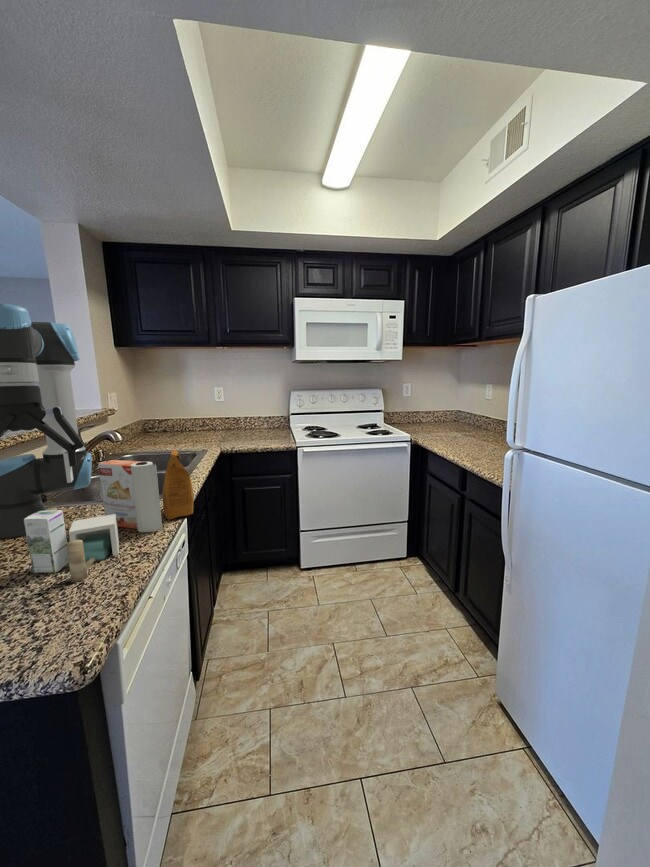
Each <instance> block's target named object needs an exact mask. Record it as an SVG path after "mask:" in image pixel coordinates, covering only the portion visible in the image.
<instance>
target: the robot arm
mask: <svg viewBox="0 0 650 867" xmlns="http://www.w3.org/2000/svg"><path fill="white" fill-rule="evenodd" d="M79 360H80V354H79V350H78V346H77V342H76V338H75V336H74V333H73V331H72V328H71V327H70V326H69V325H68V324H65V323H60V322H59V323H57V322H51V321H50V322H49V321H48V322H45V321H42V322H41V321H32V320H31V318H30V313H29V311H28V309H27V308H25V307H22V306H20V305H15V304H8V303H0V439H1V438H2V437H3V436H4V434H5V433H7V432H8V431H11V432H18V431H32V430H34V429H37V430H38V431H39V432H42V433H43V434H44V435H45V438H46V445H47V446H46V448H45V449H44V451H42V457H38V458H37V456H36V455H35V454H33V453H30V454H29V453H28V454H27V453H26V454H21V455H15V456H11V457H7V458H6V457H5V458H3V459H0V539H2V540H3V539H11V538H17V537H23V536H27V535H26V530H25V524H24V519H25V518H27V517H28V516H30V515H32V514H34V513H36V512H38V511H49V509H47V507H46V505H45V504H44V502H43V501H42V495H43V494H44V495H45V494H52V493H58V492H66V491H72V490H73V491H75V490H77V489H84V488H87V487H88V486H90V484H91V482H92V481H91V480H92V473H93V471H92V470H93V467H92V466H93V463H92V462H93V457H92V456H93V455H92V453H91V452H87V449H86V447H85V442H84V440H83V439H82V438H81V437H80V435H79V430H78V422H77V415H76V407H75V399H74V391H73V390H74V389H73V385H72V384H73V383H72V377H71V371H72V370H73V369H74V368H75V367H76V364H75V362H78V361H79ZM37 383H38V385H37Z"/></svg>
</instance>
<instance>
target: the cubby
mask: <svg viewBox="0 0 650 867" xmlns="http://www.w3.org/2000/svg"><path fill="white" fill-rule="evenodd" d="M118 529H119V528H118V526H117V520H116V514H112V515H106V516H105V515H102V516H95V517H90V518H89V517H88V518H83V519H77V520H73V521H72V523H71V526H70V528H69V530H68V535H69V542H71V541H74V540H82V541H84V540H85V539H86V538H87V537H88V536H89V535H99V534H108V533H109V540H110V548H111V550H112V551H111V552H112V557H116V556H119V553H120V552H119V551H120V550H119V549H120V539H119V538H120V537H119V530H118Z"/></svg>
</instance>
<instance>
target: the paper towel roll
mask: <svg viewBox="0 0 650 867" xmlns="http://www.w3.org/2000/svg"><path fill="white" fill-rule="evenodd" d="M157 472H158V470H157V464H153V462H152V461H140V462H138V463H134V464H131V473H132V482H133V491H134V500H135V509H136V519H137V528H138V529H137V532H139V533H150V532H151V533H152V532H156V531H157V532H158V531H163V523H162V522H163V521H162V511H161V503H160V502H161V501H160V493H159V481H158V473H157Z"/></svg>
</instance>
